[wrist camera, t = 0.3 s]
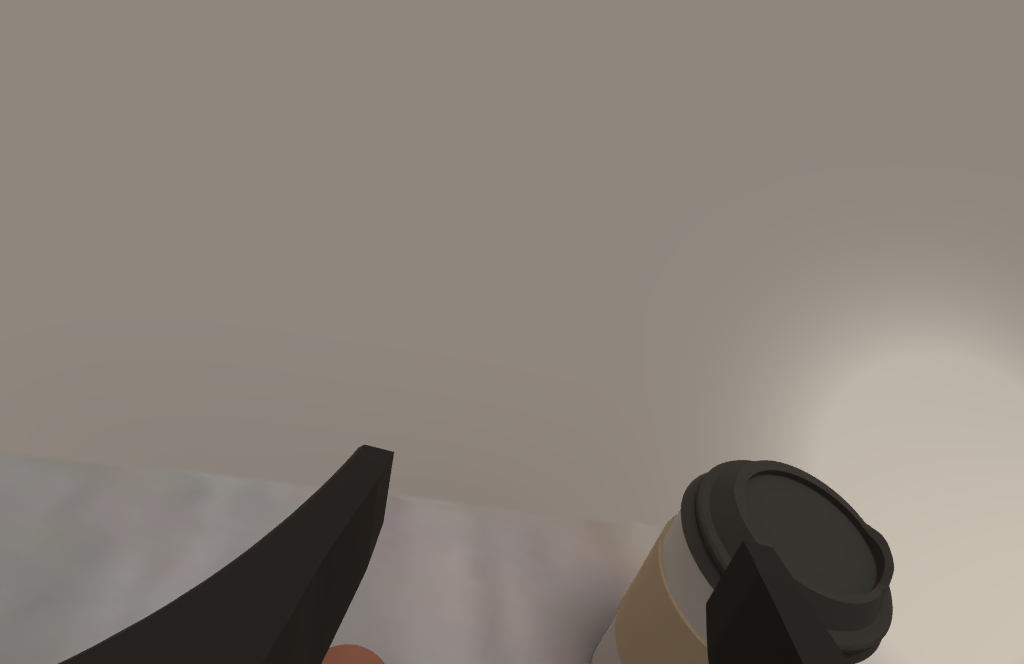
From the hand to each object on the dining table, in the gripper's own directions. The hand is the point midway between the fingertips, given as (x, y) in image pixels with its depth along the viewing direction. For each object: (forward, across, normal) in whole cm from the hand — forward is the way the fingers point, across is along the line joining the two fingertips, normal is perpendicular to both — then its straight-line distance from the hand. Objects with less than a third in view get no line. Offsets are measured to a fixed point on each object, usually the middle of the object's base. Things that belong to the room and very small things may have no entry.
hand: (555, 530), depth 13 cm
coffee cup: (+11, -10, +22) cm, 26 cm away
